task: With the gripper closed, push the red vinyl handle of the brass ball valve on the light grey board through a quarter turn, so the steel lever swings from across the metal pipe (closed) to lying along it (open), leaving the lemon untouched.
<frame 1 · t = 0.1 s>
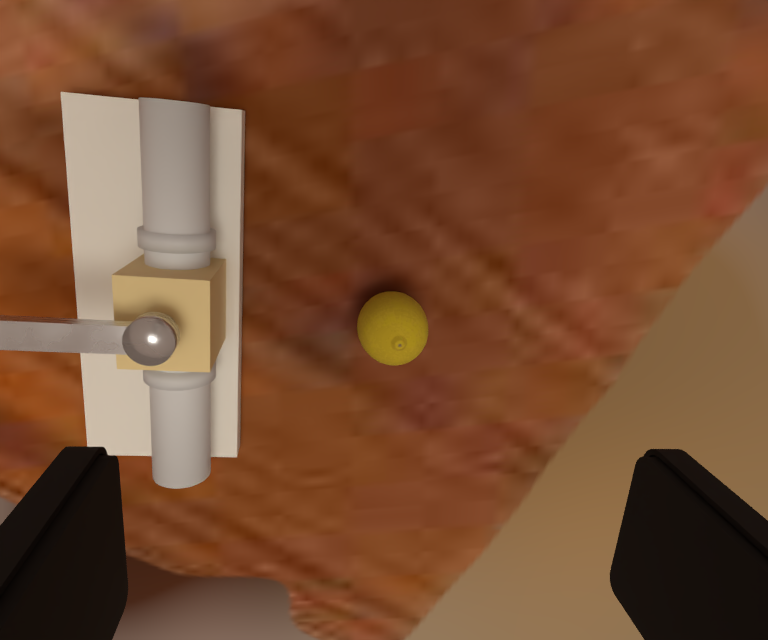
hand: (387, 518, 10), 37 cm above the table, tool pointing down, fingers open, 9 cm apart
lemon: (386, 312, 48), on the table
valve base: (191, 290, 45), on the table
valve lever: (50, 334, 33), point 12 cm above the table, hinge at 0.0°
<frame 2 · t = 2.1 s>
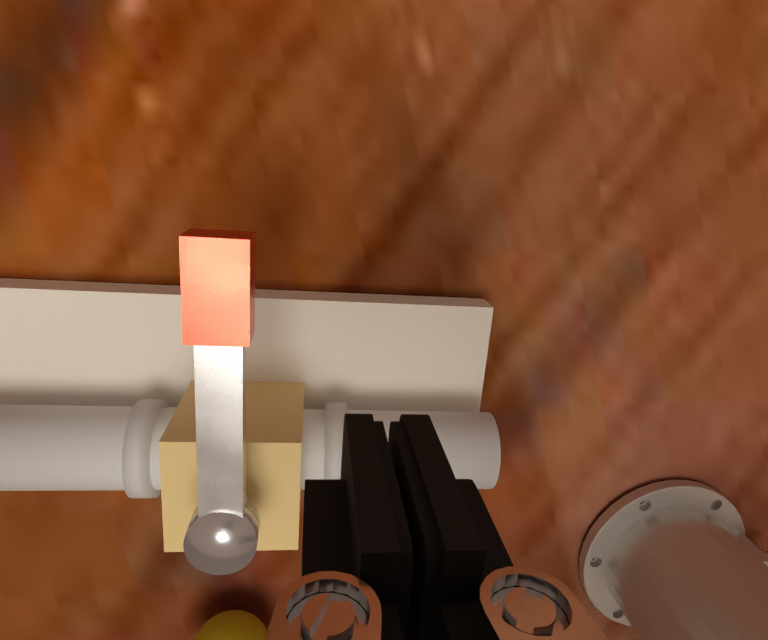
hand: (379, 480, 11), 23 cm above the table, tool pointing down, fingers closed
lemon: (237, 613, 40), on the table
valve base: (252, 412, 35), on the table
valve lever: (221, 414, 22), point 12 cm above the table, hinge at 0.0°
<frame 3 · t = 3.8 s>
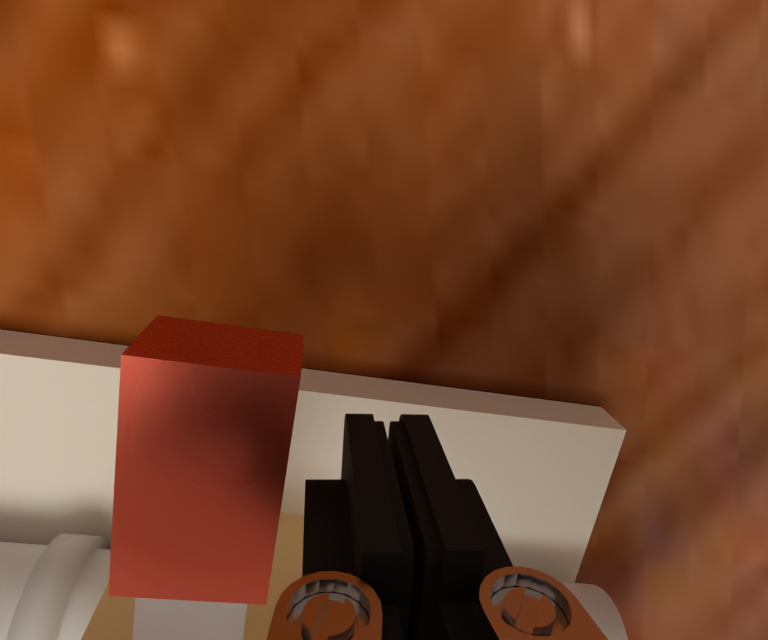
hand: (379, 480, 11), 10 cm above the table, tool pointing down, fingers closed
valve base: (236, 540, 23), on the table
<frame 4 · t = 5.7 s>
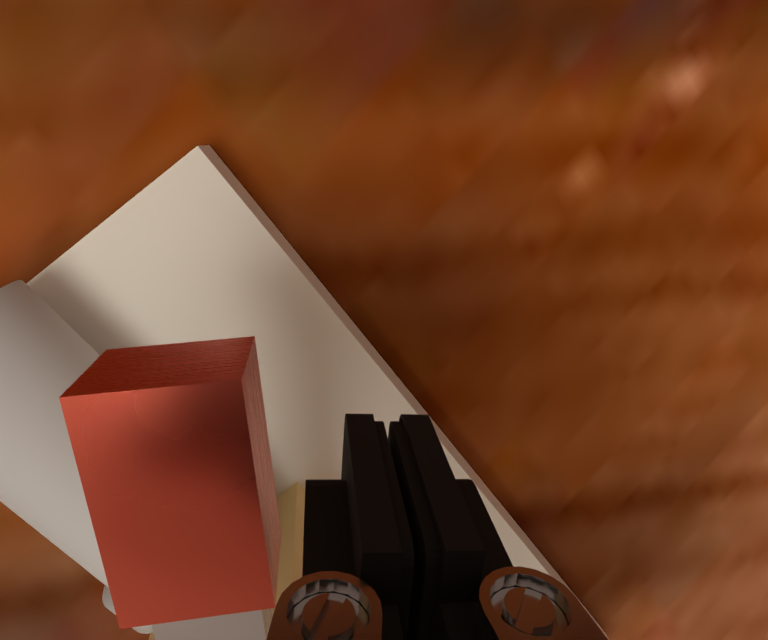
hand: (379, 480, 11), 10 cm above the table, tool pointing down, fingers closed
valve base: (290, 544, 23), on the table
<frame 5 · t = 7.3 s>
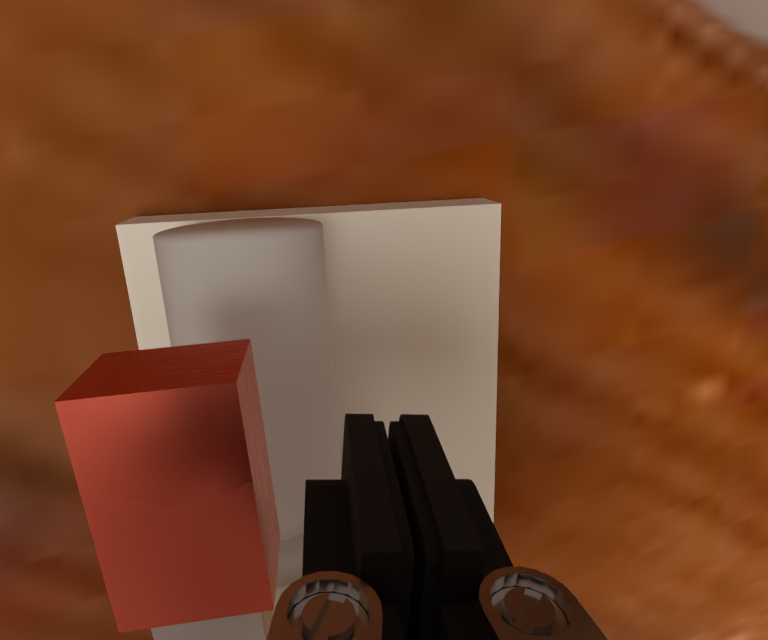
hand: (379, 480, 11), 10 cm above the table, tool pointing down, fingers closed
valve base: (293, 546, 23), on the table
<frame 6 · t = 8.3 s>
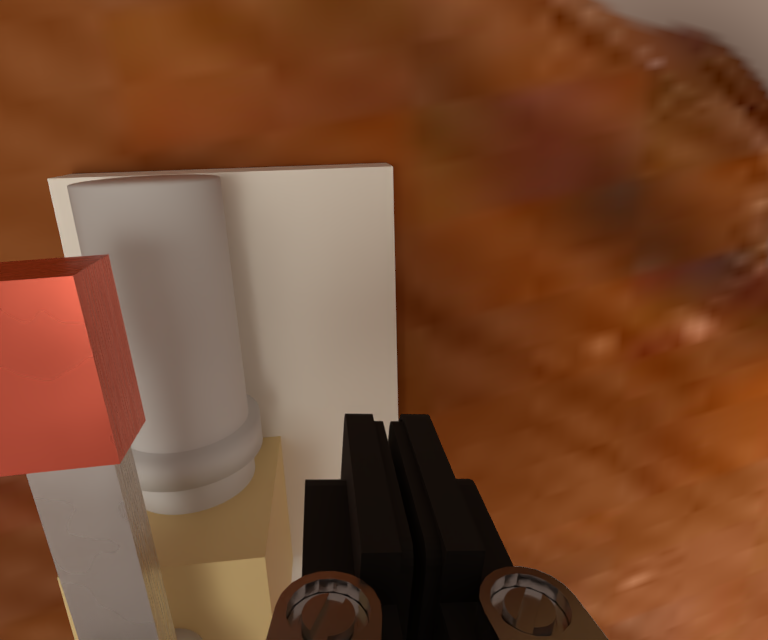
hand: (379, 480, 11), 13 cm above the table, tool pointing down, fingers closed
valve base: (224, 478, 26), on the table
valve lever: (109, 564, 13), point 12 cm above the table, hinge at 91.6°
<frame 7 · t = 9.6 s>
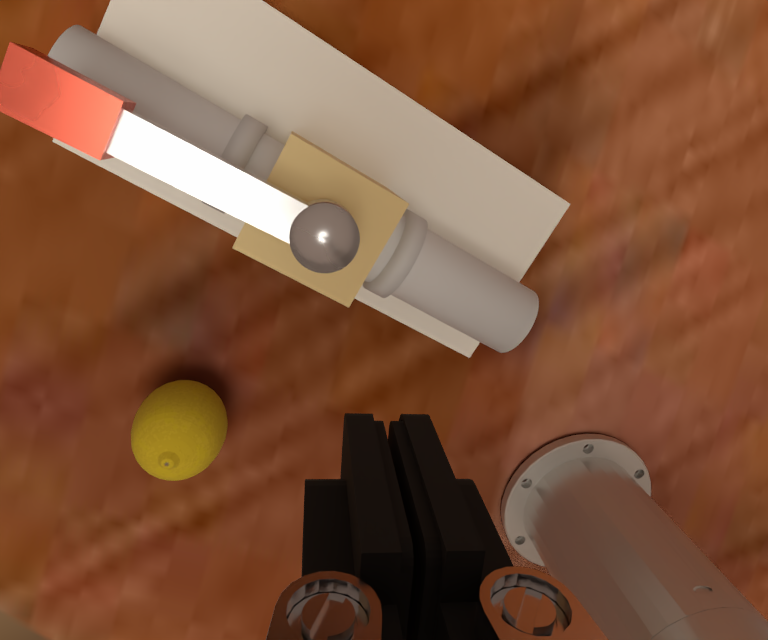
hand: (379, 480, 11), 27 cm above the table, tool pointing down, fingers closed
lemon: (192, 396, 39), on the table
valve base: (315, 200, 35), on the table
valve lever: (198, 171, 23), point 12 cm above the table, hinge at 91.6°
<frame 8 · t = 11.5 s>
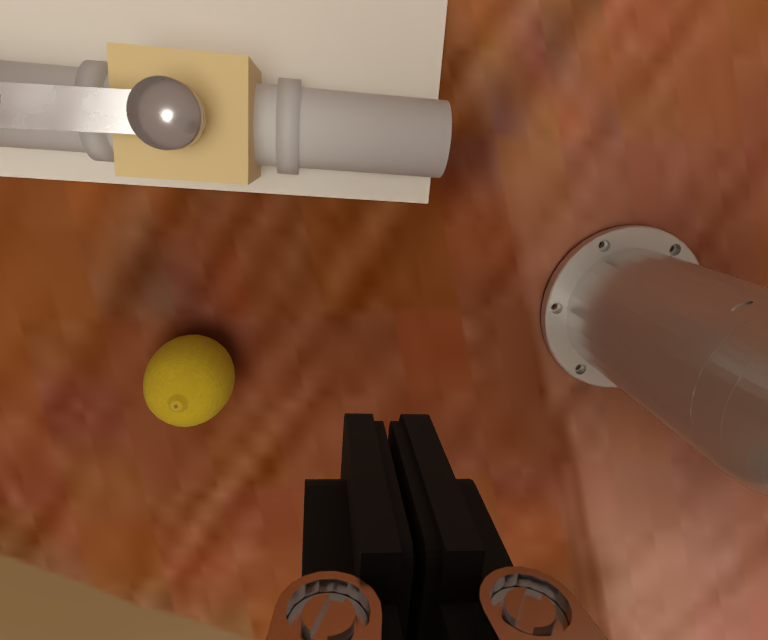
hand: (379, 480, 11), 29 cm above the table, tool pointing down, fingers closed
lemon: (202, 355, 40), on the table
valve base: (212, 122, 35), on the table
valve lever: (27, 106, 24), point 12 cm above the table, hinge at 91.6°
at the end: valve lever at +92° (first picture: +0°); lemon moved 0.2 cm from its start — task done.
